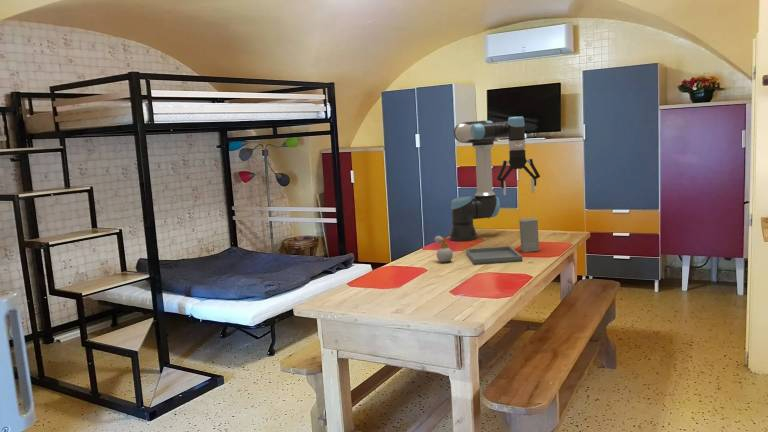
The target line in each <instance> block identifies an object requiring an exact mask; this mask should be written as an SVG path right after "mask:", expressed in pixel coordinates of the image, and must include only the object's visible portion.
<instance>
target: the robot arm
mask: <svg viewBox="0 0 768 432" xmlns="http://www.w3.org/2000/svg"><path fill="white" fill-rule="evenodd" d="M525 125H526V124H525V118H524V116H509V117H508V118H507V121H497V122H494V121H492V120H477V121H476V120H473V121H464V122H461V123H458V124H457V125H456V126H455V127H454V129H453V138H454V139H455V140H456V141H457V142H459V143H462V144H471V145H472V147H473V148H474V149H475V150H474V151H475V173H476V174H475V175H476V176H475V177H476V193H475V194H474V198H473V196H471V195H467V196H460V197H456V198H453V199H452V200H451V203H450V204H451V206H450V210H451V222H452V223H451V224H452V226H451V230H450V233H449V240H450V241H453V242H454V241H455V242H467V241H469V242H470V241H473V240H474V241H475V240H477V239H478V234H477V231H476V228H475V225H474V220H479V219H480V220H481V219H490V218H495V217H497V215H499V213H500V208H501V201H500V198H499V197H498V196H496V192H494V191H493V190H494V189H493V167H492V165H493V164H492V147H493V146H494V142H496V141H497V139H501V138H508V149H509V151H508V155H509V159H508V160H502V165H501V168H500V171H499V173H498V175H497V177H496V180H497V181H500V188H501V189H502V190H503V191H502V192H503V193H502V194H503V196H507V186H506V181H505V180H506V179H507V177H508V176H509V174H510V173H511V172H512V171H513V170H518V169H519V170H521V169H523V170H524V171H525V172H526V173H527V174H528V176H530V177H531V179H530V181H531V183H530V184H531V186H530V187H531V193H532V194H535V193H536V192H535V187H536V186H537V179H539V178H541V175H540V173H539V171H538V170H537V168H536V166H535V164H534V161H533V158H526V155H527V154H526V149H525V148H526V136H525V135H526V133H525V130H526V129H525ZM527 163H528V164H529V166H530V168H531V169H532V171H533V172H532V171H531V170H530V169H529V168H528V167H527V166H526V164H527ZM508 165H509V168H508V169H507V170H506V172H505V173H504V171H505V169H506V167H507V166H508ZM503 173H504V174H503Z"/></svg>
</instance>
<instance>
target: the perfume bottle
mask: <svg viewBox="0 0 768 432" xmlns="http://www.w3.org/2000/svg"><path fill="white" fill-rule="evenodd" d="M434 242H435V243H437V244H440V248H439V249H438V250H437V251H436V258H437V260H438V261H439V262H441V263H449V262H450V261H451V260H452V259H453V256H454V254H453V251H452V249H451V248H449V247H448V242H446V239H445V237H442V236H441V235H436V236H435V237H434Z"/></svg>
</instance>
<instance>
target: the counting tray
mask: <svg viewBox="0 0 768 432" xmlns="http://www.w3.org/2000/svg"><path fill="white" fill-rule="evenodd" d="M465 256H467V257H468V258H469V260H470V261H471V262H472V264H473V265H474V266H476V265H477V266H478V265H489V264H490V265H492V264H504V263H505V264H506V263H518V262H523V255H522V254H520V253H519V252H518V251H517V250H515V248H513V247H512V246H511V245H508V246H496V247H494V246H493V247H481V248H467V249H465Z"/></svg>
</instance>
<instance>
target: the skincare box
mask: <svg viewBox="0 0 768 432" xmlns="http://www.w3.org/2000/svg"><path fill="white" fill-rule="evenodd" d="M538 221H539V220H538V219H537V217H531V218H519V221H518V222H519V234H520V235H519V238H520V250H521V251H522V253H529V252H530V253H531V252H539V251H540V243H539V240H540V239H539V238H540V237H539V226H538V224H539V223H538Z"/></svg>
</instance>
